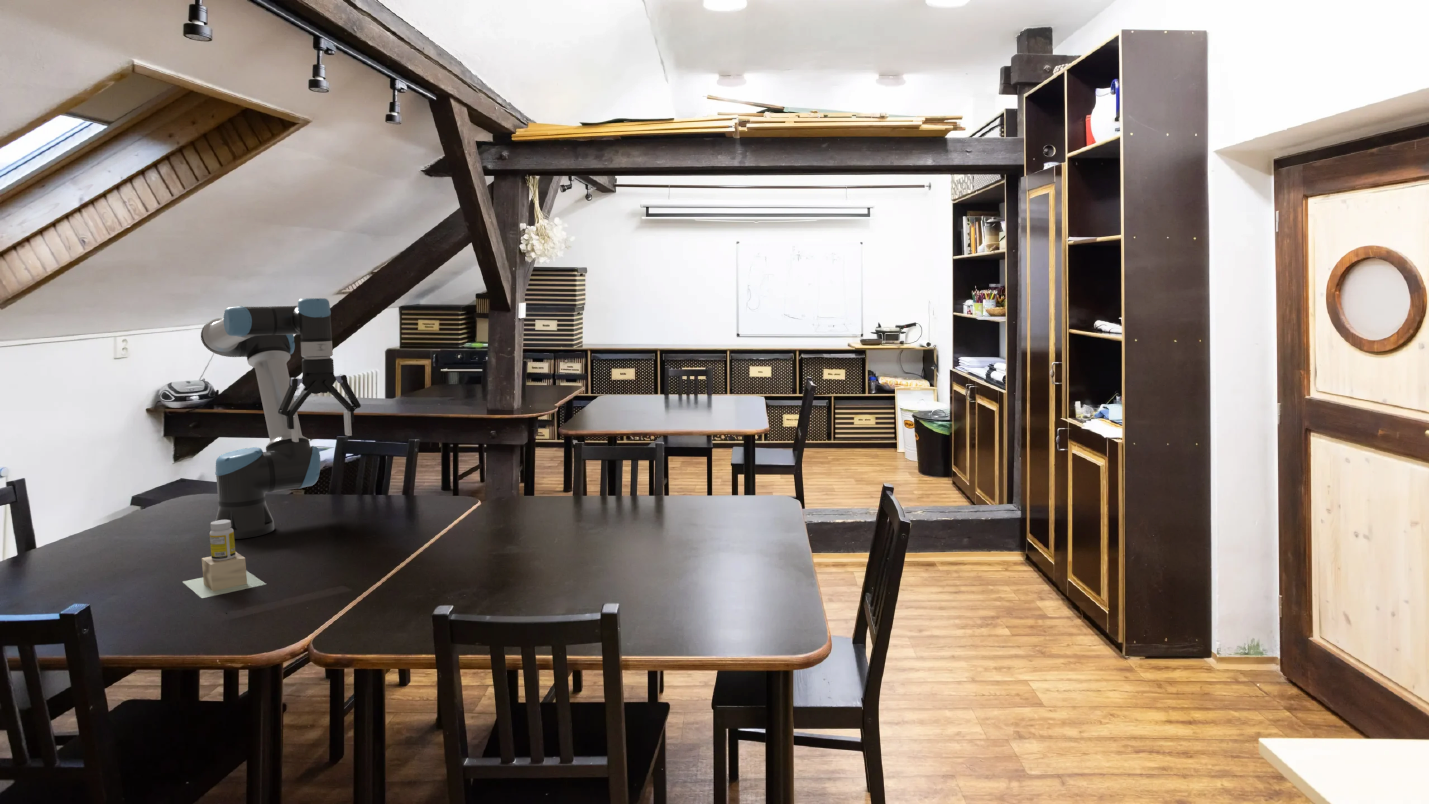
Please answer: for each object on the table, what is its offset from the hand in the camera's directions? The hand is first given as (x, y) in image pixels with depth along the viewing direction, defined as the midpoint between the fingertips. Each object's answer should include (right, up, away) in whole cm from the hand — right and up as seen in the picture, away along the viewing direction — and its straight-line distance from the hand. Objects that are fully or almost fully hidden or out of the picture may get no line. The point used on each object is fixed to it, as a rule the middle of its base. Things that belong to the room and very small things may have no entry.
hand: (322, 438), depth 229 cm
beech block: (-7, -32, -32) cm, 46 cm away
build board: (-8, -33, -31) cm, 46 cm away
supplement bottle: (-7, -26, -33) cm, 42 cm away
